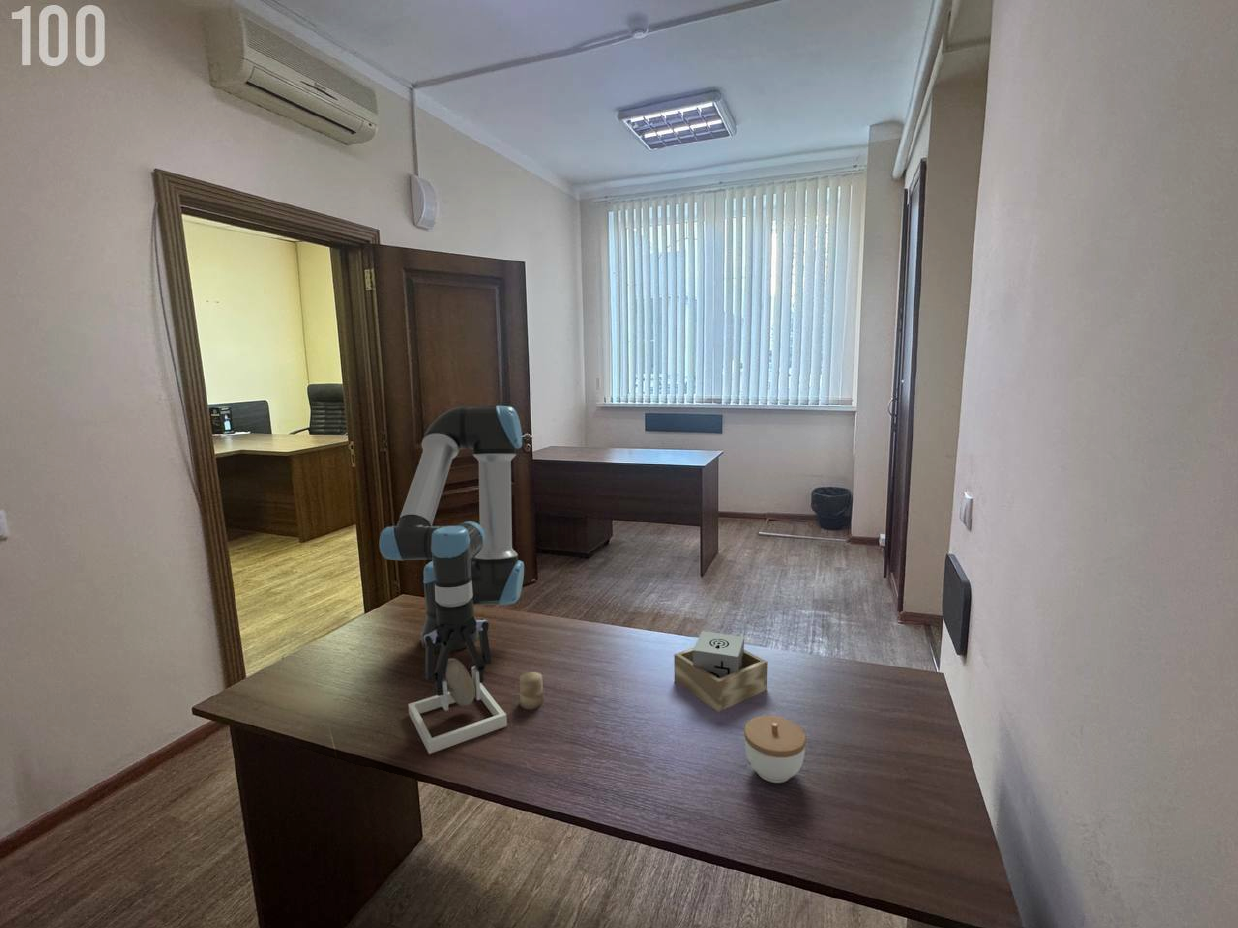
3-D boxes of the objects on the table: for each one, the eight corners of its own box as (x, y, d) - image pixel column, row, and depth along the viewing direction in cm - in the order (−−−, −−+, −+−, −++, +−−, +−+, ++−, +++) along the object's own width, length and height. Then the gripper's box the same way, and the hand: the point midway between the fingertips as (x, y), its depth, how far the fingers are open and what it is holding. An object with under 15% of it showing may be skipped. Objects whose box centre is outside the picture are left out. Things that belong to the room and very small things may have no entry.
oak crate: (721, 663, 143) (721, 637, 142) (766, 690, 131) (767, 661, 130) (674, 681, 135) (674, 654, 134) (718, 712, 123) (718, 681, 122)
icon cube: (737, 698, 126) (737, 656, 125) (692, 691, 130) (692, 649, 128) (743, 676, 135) (744, 636, 134) (701, 669, 139) (701, 631, 137)
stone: (481, 703, 125) (478, 652, 123) (462, 719, 119) (458, 665, 118) (460, 697, 127) (457, 647, 126) (440, 712, 122) (436, 660, 120)
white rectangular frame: (480, 691, 132) (479, 681, 132) (506, 725, 119) (506, 714, 119) (409, 714, 124) (408, 703, 124) (429, 754, 111) (428, 742, 110)
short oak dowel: (537, 694, 131) (536, 669, 130) (547, 704, 127) (545, 679, 126) (517, 701, 128) (515, 676, 127) (526, 711, 124) (525, 686, 123)
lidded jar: (771, 745, 111) (772, 700, 110) (817, 776, 102) (819, 728, 101) (731, 766, 106) (731, 719, 104) (775, 801, 97) (777, 750, 95)
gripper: (491, 585, 128) (497, 681, 132) (402, 605, 118) (410, 708, 121) (504, 595, 122) (509, 695, 125) (411, 617, 111) (419, 726, 115)
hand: (461, 701), depth 123 cm, fingers closed on stone, 6 cm apart
